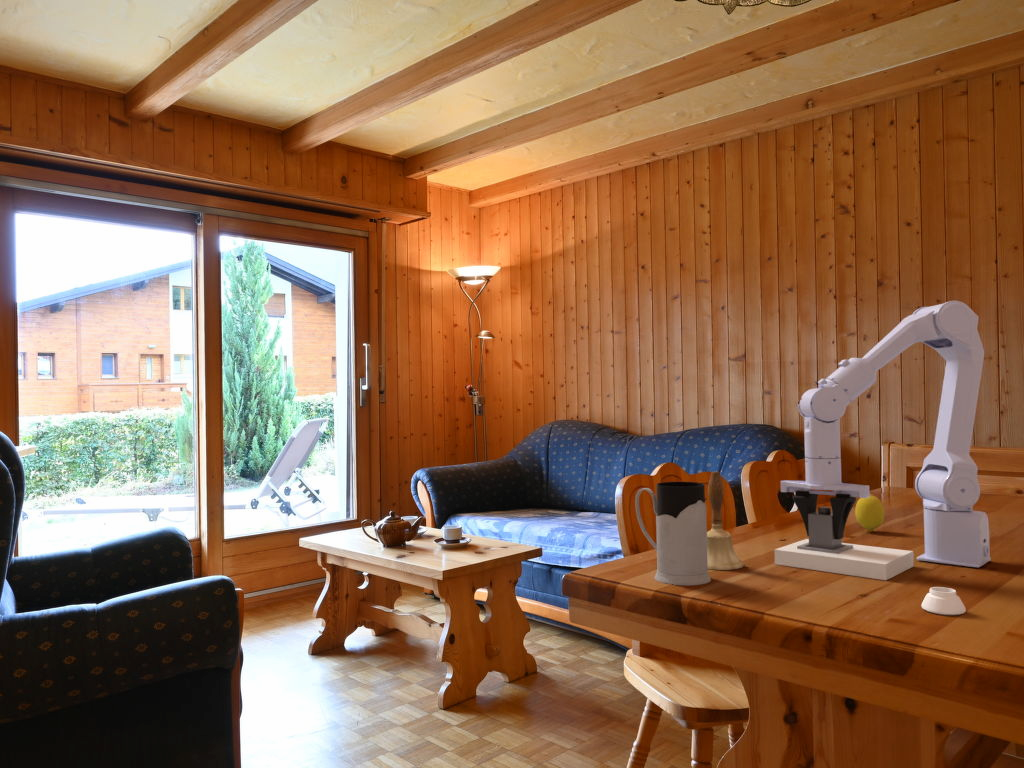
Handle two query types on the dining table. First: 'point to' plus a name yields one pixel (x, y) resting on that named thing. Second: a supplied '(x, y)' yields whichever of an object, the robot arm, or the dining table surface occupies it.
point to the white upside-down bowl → (943, 602)
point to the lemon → (869, 512)
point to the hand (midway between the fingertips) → (824, 537)
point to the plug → (822, 530)
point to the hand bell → (719, 532)
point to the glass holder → (679, 532)
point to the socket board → (846, 559)
